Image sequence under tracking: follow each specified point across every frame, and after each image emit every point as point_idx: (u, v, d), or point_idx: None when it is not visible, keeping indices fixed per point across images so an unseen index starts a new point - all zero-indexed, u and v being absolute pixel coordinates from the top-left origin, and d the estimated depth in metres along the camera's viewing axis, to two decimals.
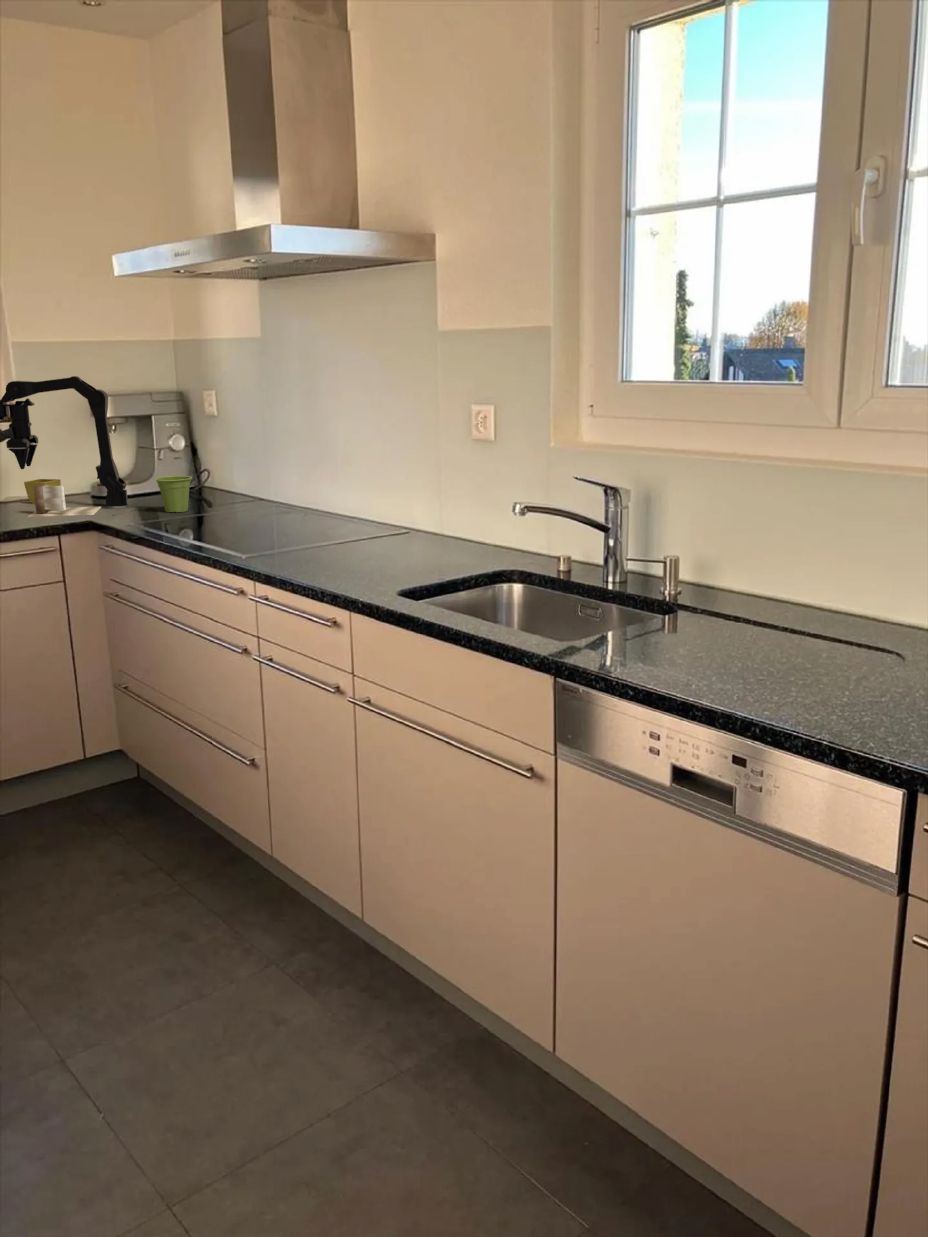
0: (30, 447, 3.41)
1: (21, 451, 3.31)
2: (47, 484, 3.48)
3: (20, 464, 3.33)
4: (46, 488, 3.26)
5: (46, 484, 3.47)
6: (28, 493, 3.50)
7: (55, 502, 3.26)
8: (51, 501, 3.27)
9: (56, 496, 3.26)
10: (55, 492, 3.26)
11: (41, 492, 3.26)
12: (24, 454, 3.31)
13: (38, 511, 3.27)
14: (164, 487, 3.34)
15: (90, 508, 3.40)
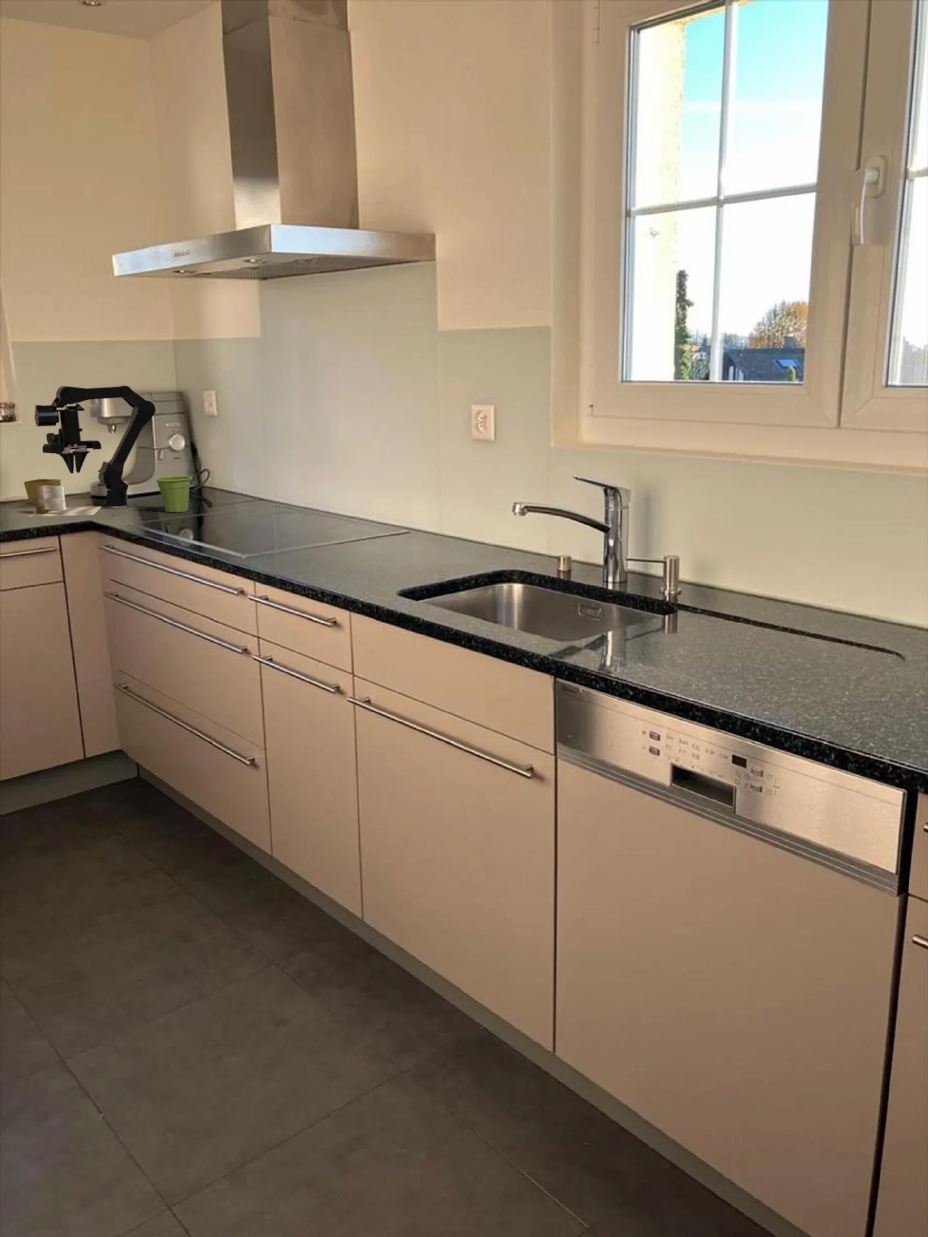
0: (79, 454, 3.36)
1: (67, 455, 3.33)
2: (47, 484, 3.48)
3: (69, 469, 3.35)
4: (46, 488, 3.26)
5: (46, 484, 3.47)
6: (28, 493, 3.50)
7: (55, 502, 3.26)
8: (51, 501, 3.27)
9: (56, 496, 3.26)
10: (55, 492, 3.26)
11: (41, 492, 3.26)
12: (68, 459, 3.32)
13: (38, 511, 3.27)
14: (164, 487, 3.34)
15: (90, 508, 3.40)
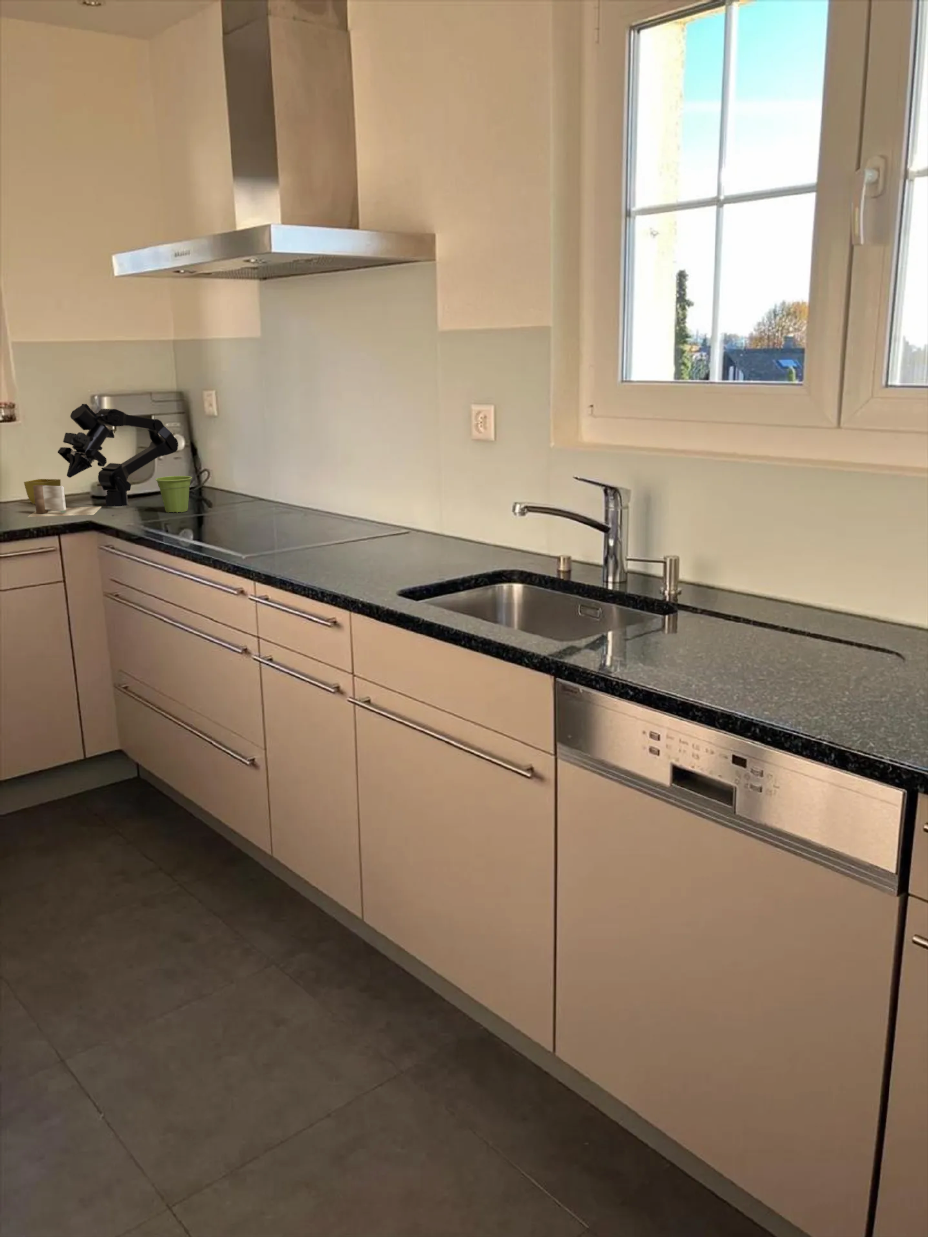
0: None
1: (81, 464, 3.31)
2: (47, 484, 3.48)
3: (71, 472, 3.29)
4: (46, 488, 3.26)
5: (46, 484, 3.47)
6: (28, 493, 3.50)
7: (55, 502, 3.26)
8: (51, 501, 3.27)
9: (56, 496, 3.26)
10: (55, 492, 3.26)
11: (41, 492, 3.26)
12: (83, 468, 3.31)
13: (38, 511, 3.27)
14: (164, 487, 3.34)
15: (90, 508, 3.40)
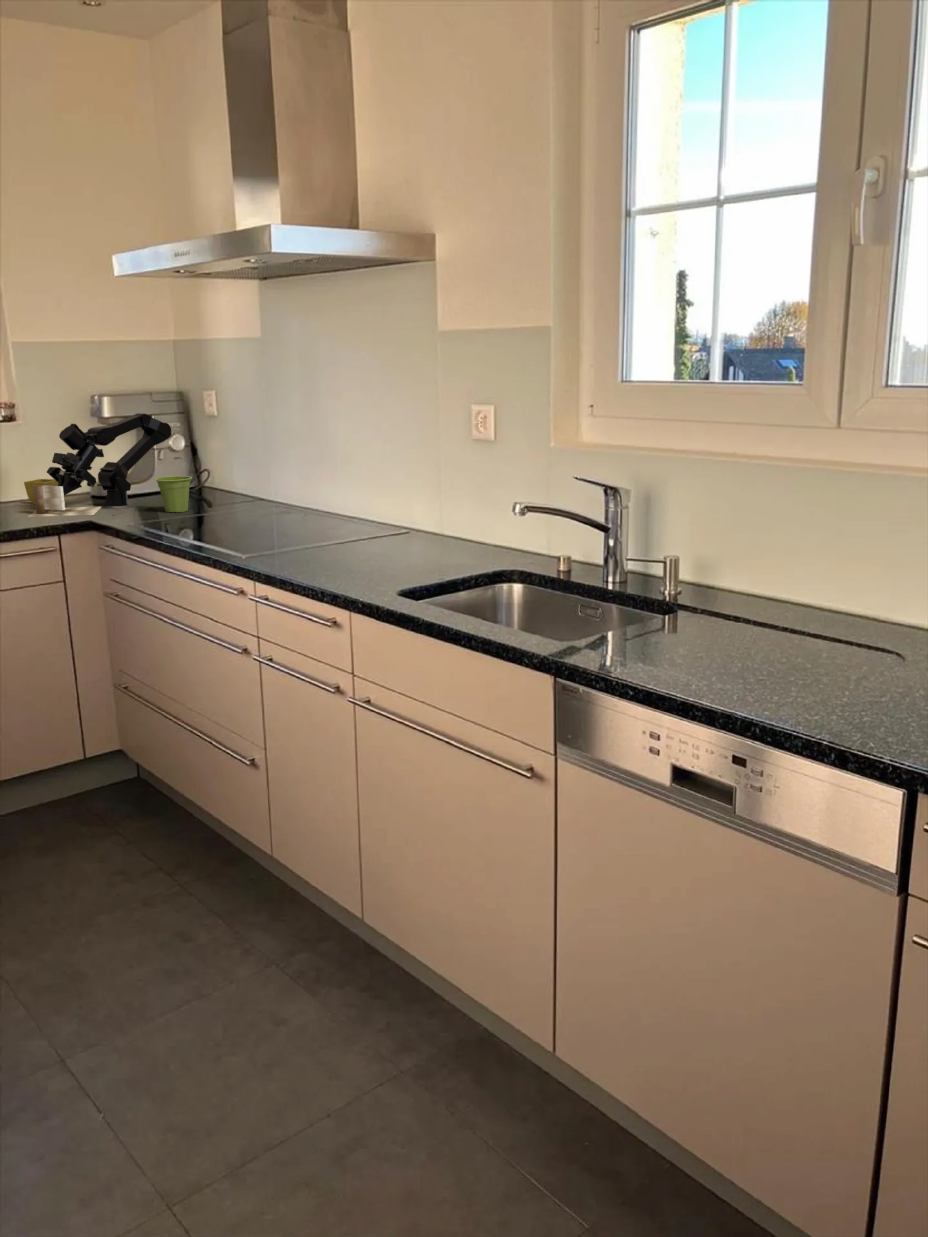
0: None
1: (71, 484, 3.29)
2: (47, 484, 3.48)
3: None
4: (46, 488, 3.26)
5: (46, 484, 3.47)
6: (28, 493, 3.50)
7: (54, 502, 3.26)
8: (50, 501, 3.26)
9: (55, 496, 3.25)
10: (54, 492, 3.25)
11: (40, 492, 3.26)
12: (72, 488, 3.29)
13: (38, 511, 3.28)
14: (164, 487, 3.34)
15: (90, 508, 3.40)
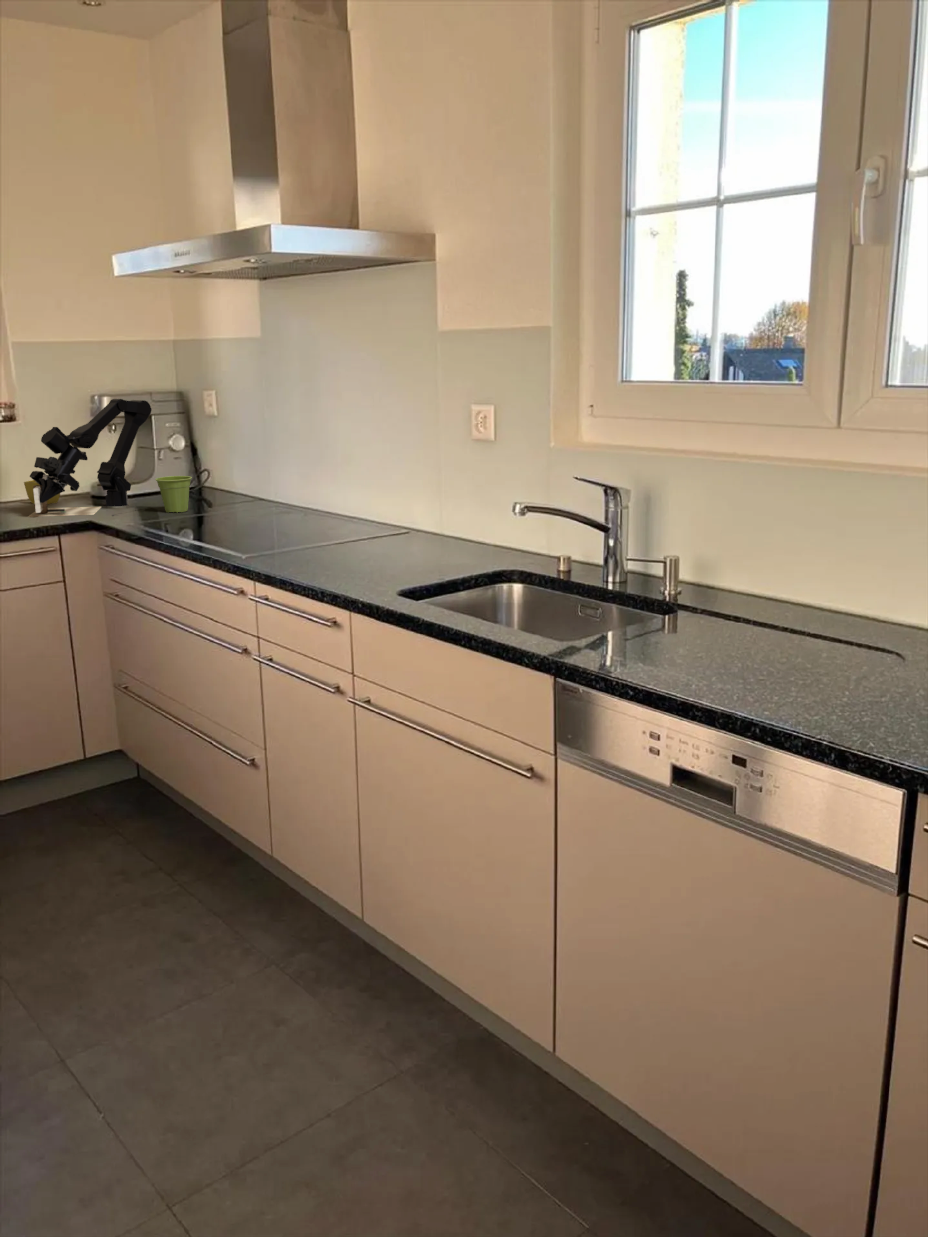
0: None
1: (54, 488, 3.24)
2: None
3: (44, 498, 3.22)
4: None
5: None
6: (28, 493, 3.50)
7: None
8: None
9: None
10: None
11: None
12: (55, 492, 3.24)
13: None
14: (164, 487, 3.34)
15: (90, 508, 3.40)
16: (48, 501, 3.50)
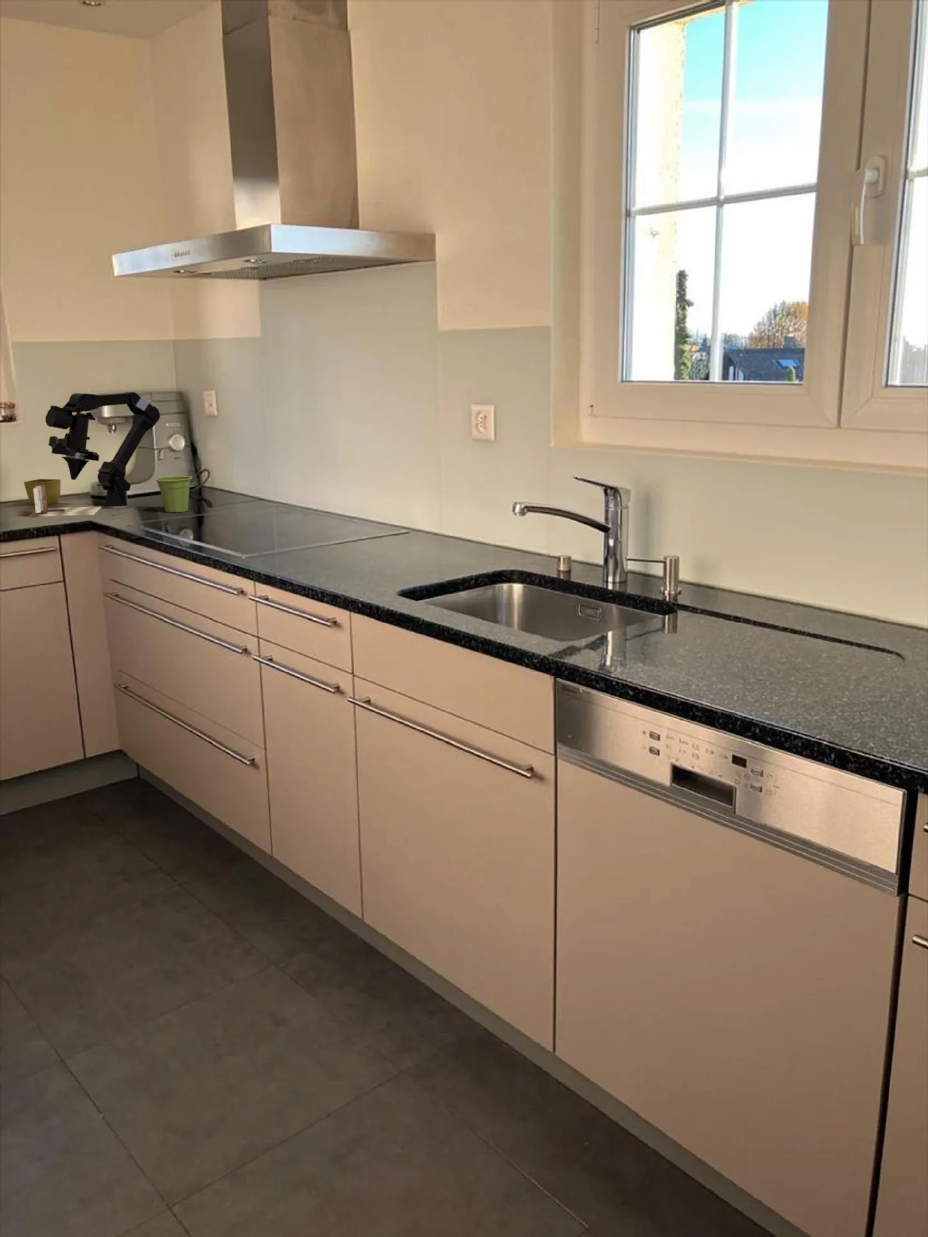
0: None
1: (74, 461, 3.30)
2: (47, 484, 3.48)
3: (71, 474, 3.31)
4: None
5: (46, 484, 3.47)
6: (28, 493, 3.50)
7: None
8: None
9: None
10: None
11: None
12: (75, 464, 3.30)
13: None
14: (164, 487, 3.34)
15: (90, 508, 3.40)
16: (48, 501, 3.50)
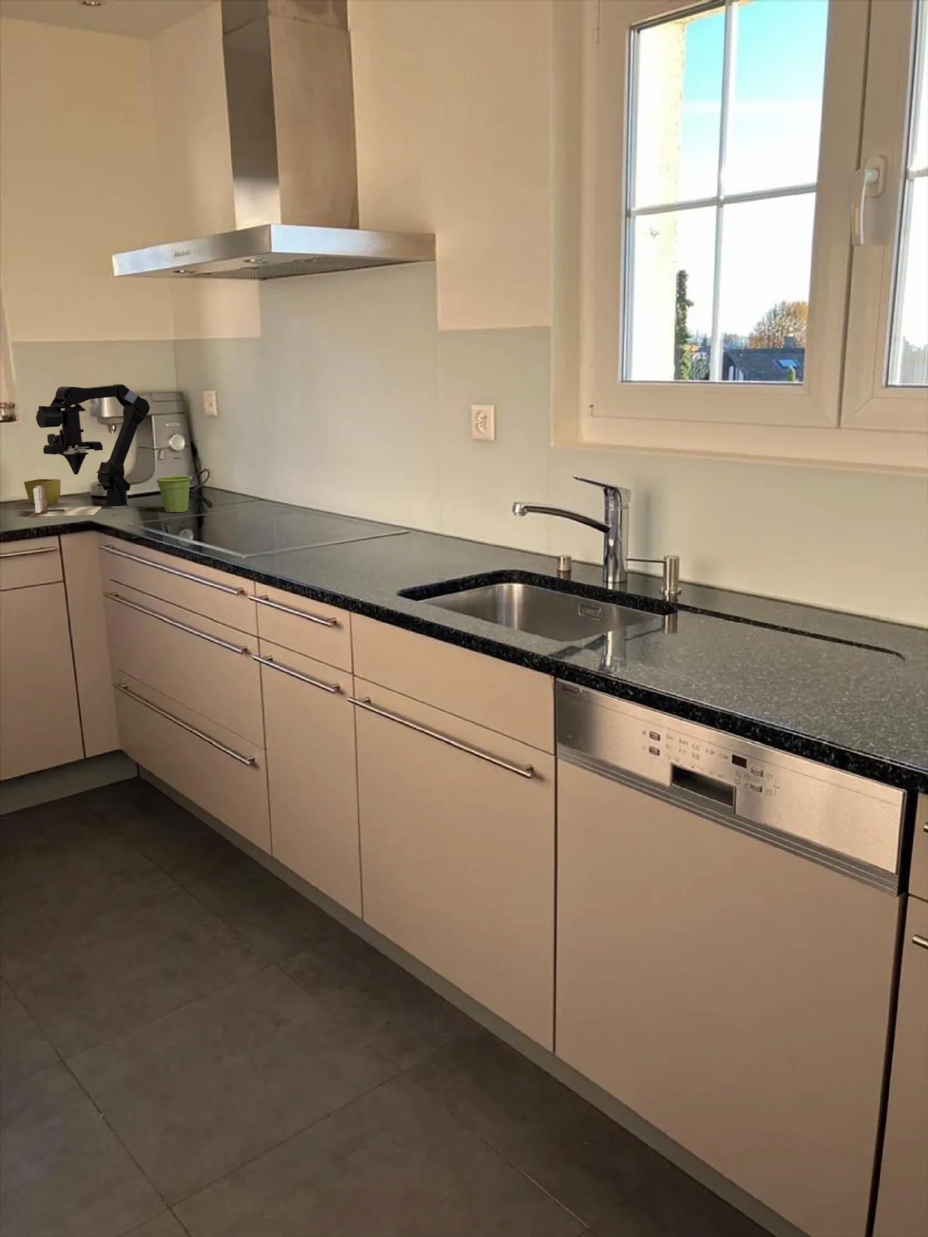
0: (78, 455, 3.31)
1: (71, 456, 3.30)
2: (47, 484, 3.48)
3: (73, 470, 3.32)
4: None
5: (46, 484, 3.47)
6: (28, 493, 3.50)
7: None
8: None
9: None
10: None
11: None
12: (72, 460, 3.30)
13: None
14: (164, 487, 3.34)
15: (90, 508, 3.40)
16: (48, 501, 3.50)
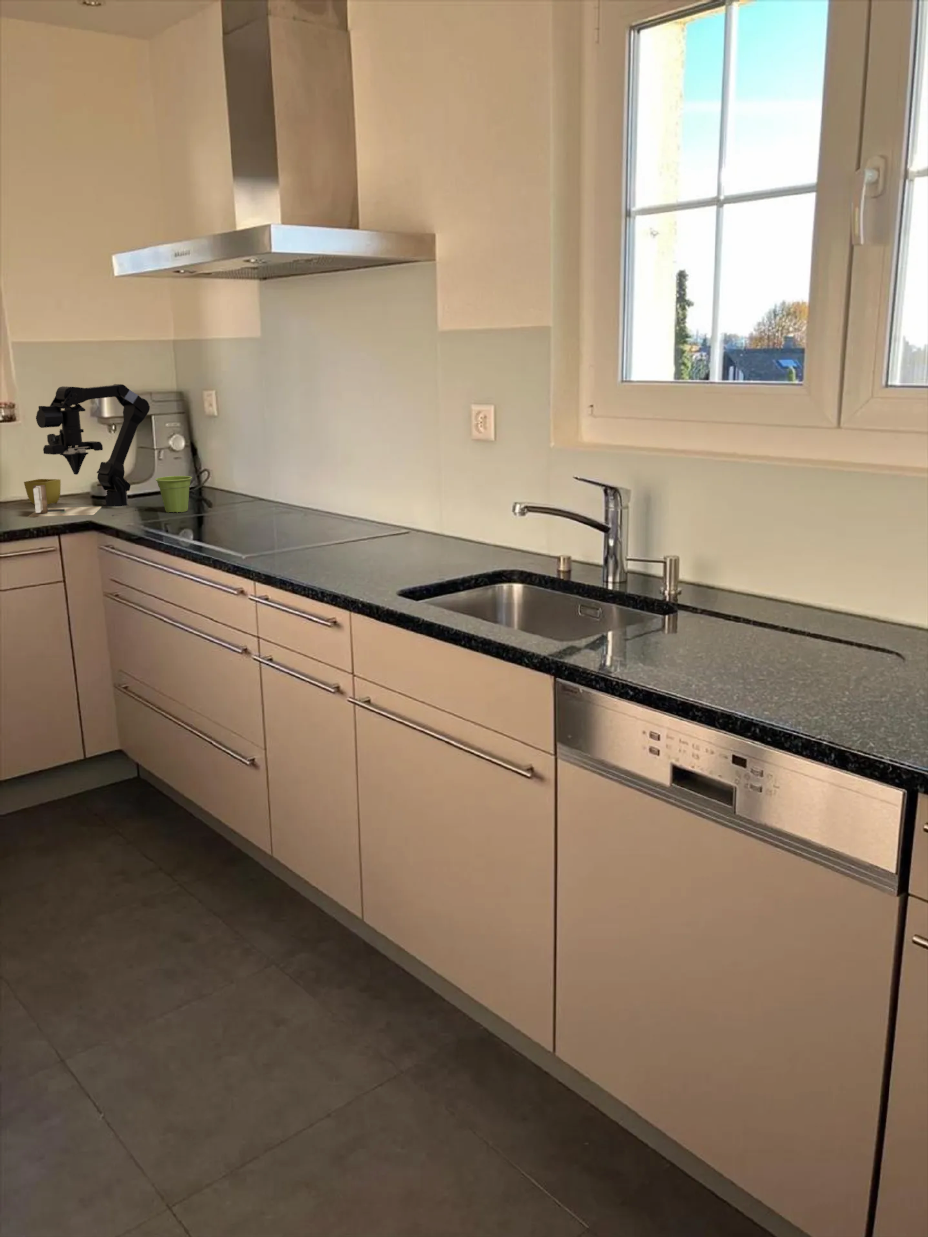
0: (78, 455, 3.31)
1: (71, 456, 3.30)
2: (47, 484, 3.48)
3: (73, 470, 3.32)
4: None
5: (46, 484, 3.47)
6: (28, 493, 3.50)
7: None
8: None
9: None
10: None
11: None
12: (72, 460, 3.30)
13: None
14: (164, 487, 3.34)
15: (90, 508, 3.40)
16: (48, 501, 3.50)
